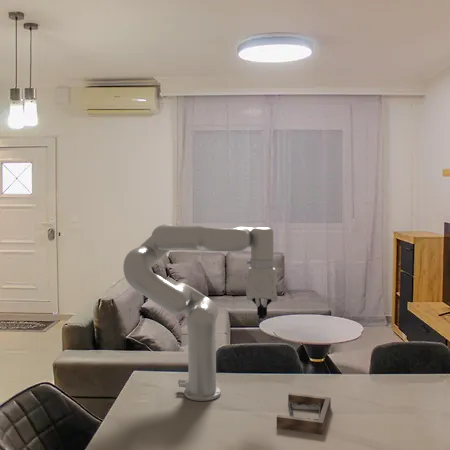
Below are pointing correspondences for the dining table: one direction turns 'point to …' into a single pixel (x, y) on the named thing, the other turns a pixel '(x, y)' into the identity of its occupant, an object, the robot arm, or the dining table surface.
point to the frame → (304, 423)
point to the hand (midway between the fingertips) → (262, 317)
